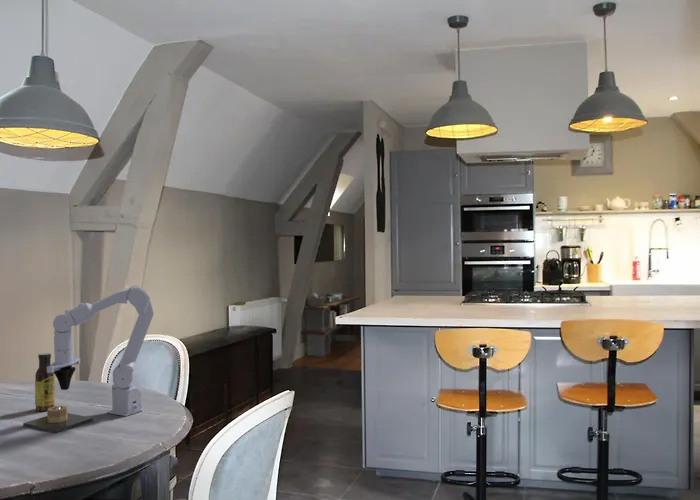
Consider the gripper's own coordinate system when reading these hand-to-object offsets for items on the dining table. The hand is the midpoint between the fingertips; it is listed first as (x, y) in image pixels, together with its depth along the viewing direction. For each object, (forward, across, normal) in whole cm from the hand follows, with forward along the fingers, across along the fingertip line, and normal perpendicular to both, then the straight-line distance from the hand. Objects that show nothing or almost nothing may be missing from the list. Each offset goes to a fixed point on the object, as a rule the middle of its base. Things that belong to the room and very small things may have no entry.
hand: (64, 389), depth 213 cm
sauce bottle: (+10, -8, -14) cm, 19 cm away
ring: (+9, +6, +1) cm, 10 cm away
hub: (+10, +6, +2) cm, 11 cm away
